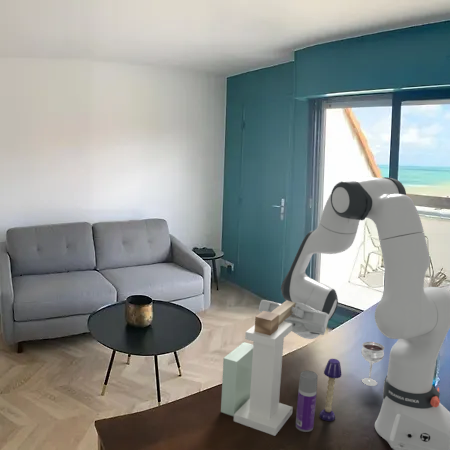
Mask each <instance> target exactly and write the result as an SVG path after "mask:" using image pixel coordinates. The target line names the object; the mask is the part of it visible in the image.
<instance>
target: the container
mask: <svg viewBox="0 0 450 450" xmlns="http://www.w3.org/2000/svg"><path fill="white" fill-rule="evenodd" d="M318 375H319V374H317V373H316V372H314V371H311V370H302V371H301V372H300V375H299V381H298V393H297V402H296V403H297V405H296V415H295V416H296V417H295V428H296V429H297V430H298V431H300V432H303V433H304V432H305V433H306V432H307V433H308V432H312V431H313V429H314V426H315V415H316V414H315V413H316V402H317V393H318V392H317V389H318Z"/></svg>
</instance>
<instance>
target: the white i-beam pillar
mask: <svg viewBox="0 0 450 450" xmlns="http://www.w3.org/2000/svg"><path fill="white" fill-rule="evenodd" d="M291 332H292V323H288V322H284V321H283V322H282V323H281V324H280V325H278V329H277V330H276V331H275V332H274V333H273V334H271V335H266V334H262V333H259V332H255V324H254V325H252V326H251V327H250V328H249V329H247V330H245V336H244V337H245V340H246V341H247V340H248V341H251V342H253V343H252V345H253V357H252V373H251V389H250V399H249V400H248V401H247V402H246V403H245V404H244V405H243V406H242V407H241V408H240V409H239V410H238V411H237V412H236V413H235V414H234V416H233V422H235V423H237V424H241V425H242V426H246V427H250V428H251V429H254V430H257V431H260V432H263V433H266V434H269V435H271V436H276V435H277V434H278V432H280V431H281V429H282V428H283V426H284V425H285V424H286V423H287V421H288V420H289V419H290V417H291V416H292V414H293V407H294V406H290V405H288V404H284V403H281V402H280V392H281V380H282V365H283V355H284V354H283V353H284V342H285V341H284V339H285V337H286V336H288V335H289V334H290V333H291Z"/></svg>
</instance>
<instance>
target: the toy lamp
mask: <svg viewBox="0 0 450 450" xmlns="http://www.w3.org/2000/svg"><path fill="white" fill-rule="evenodd" d="M323 374H324V376H325V377H328V381H327V390H326V397H325V406H324V409H322V410H320V412H319V414H318V415H319V418H320V419H321V420H323V421H326V422H332V421H334V420H336V415H335V412H334V411H333V410H332V409H333V408H332V405H333V400H334V398H333V397H334V390H335V382H336V381H335V380H336V379H340V378H341V377H342V367H341V362H340V360H338V359H336V358H330V359H328V361H327V363H326V365H325V368H324V370H323Z"/></svg>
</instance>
